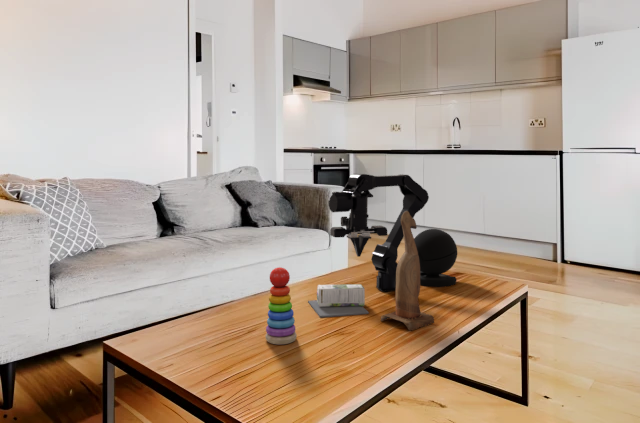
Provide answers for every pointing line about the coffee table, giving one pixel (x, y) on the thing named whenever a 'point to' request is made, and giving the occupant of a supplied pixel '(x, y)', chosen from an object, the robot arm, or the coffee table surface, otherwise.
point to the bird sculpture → (408, 282)
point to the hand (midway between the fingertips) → (358, 256)
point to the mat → (336, 310)
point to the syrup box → (341, 295)
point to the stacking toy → (280, 310)
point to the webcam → (435, 257)
